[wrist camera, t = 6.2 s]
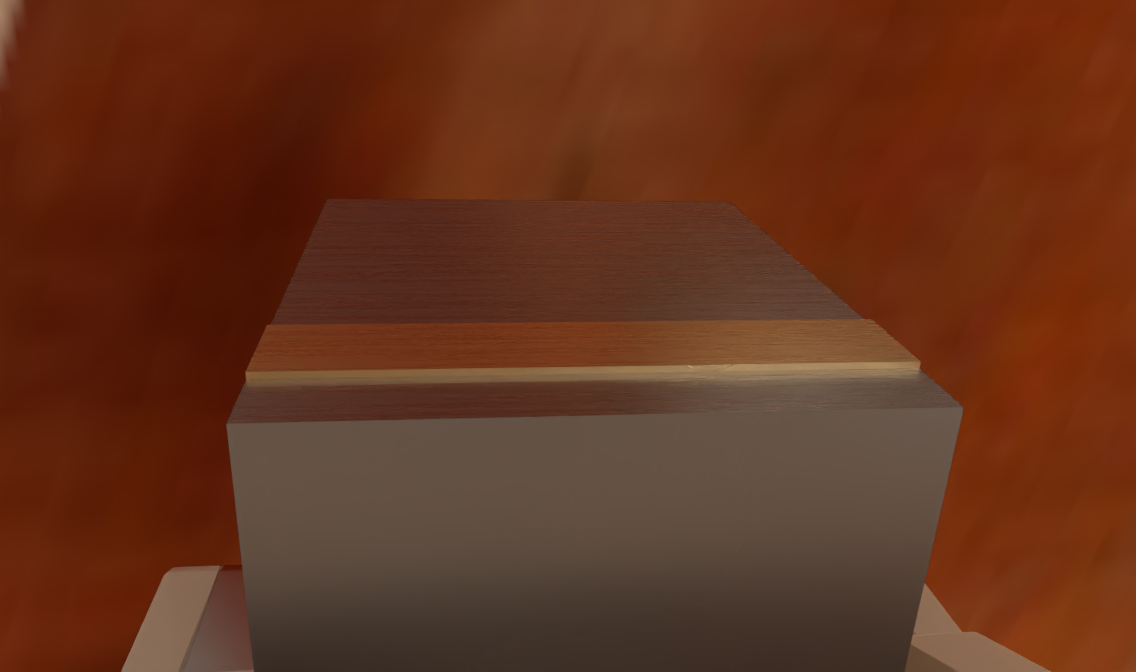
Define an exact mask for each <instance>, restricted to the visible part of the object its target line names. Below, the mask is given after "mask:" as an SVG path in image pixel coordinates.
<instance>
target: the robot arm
mask: <svg viewBox="0 0 1136 672" xmlns="http://www.w3.org/2000/svg"><path fill="white" fill-rule="evenodd" d="M121 672H254V668H253V659H252V650H251V641H250V632H249V623H248V614H247V605H246V596H245V587H244V578H243V569H242V565H225V566H224V567H222V566H219V565H218V566H193V567H173V568H172V569H171V570H169V571H168V572H167V573H166V574H165V575H164V576H163V579H162V581H161V583H160V585H159V588H158V590H157V592H156V594H155V597H154V599H153V601H152V603H151V606H150V608H149V610H148V612H147V615H146V617H145V619H144V621H143V624H142V626H141V628H140V630H139V633H138V635H137V637H136V639H135V642H134V644H133V646H132V648H131V651H130V653H129V655H128V657H127V660H126V662H125V664H124V666H123V669H122V671H121ZM905 672H1051V671H1049V670H1047V669H1045V668H1043V667H1042V666H1040V665H1038V664H1036V663H1034V662H1032V661H1030V660H1028V659H1027V658H1025V657H1023V656H1021V655H1019V654H1017V653H1015V652H1013V651H1012V650H1010V649H1008V648H1006V647H1004V646H1002V645H1000V644H998V643H996V642H995V641H993V640H991V639H989V638H987V637H985V636H983V635H981V634H980V633H978V632H962V631H961V630H960V628H959V627H958V626H957V624H956V623H955V622H954V621H953V619H952V618H951V617H950V615H949V614H948V613H947V611H946V610H945V609H944V608H943V606H942V605H941V604H940V602H939V601H938V600H937V598H936V597H935V596H934V594H933V593H932V592H931V591H930V589H929V588H928V587H927V585H926V584H925V583H924V587H923V592H922V596H921V601H920V605H919V610H918V614H917V618H916V623H915V627H914V632H913V636H912V641H911V645H910V650H909V654H908V659H907V663H906V667H905Z"/></svg>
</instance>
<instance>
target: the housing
mask: <svg viewBox="0 0 1136 672" xmlns="http://www.w3.org/2000/svg"><path fill="white" fill-rule="evenodd" d="M920 363H921V361H920V360H918V359H917V358H916V357H915V356H914V355H913V354H912V353H910V352H909V351H908V350H907V349H906V348H905V347H903V346H902V345H901V344H900V343H899V342H898V341H896V340H895V339H894V338H893V337H892V336H891V335H890V334H888V333H887V332H886V331H885V330H884V329H883V328H881V327H880V326H879V325H878V324H877V323H876V322H874V321H873V320H872V319H863V318H862V317H861V316H860V315H859V314H857V313H856V312H855V311H854V310H853V309H852V308H851V307H849V306H848V305H847V304H846V303H845V302H844V301H843V300H841V299H840V298H839V297H838V296H837V295H836V294H835V293H833V292H832V291H831V290H830V289H829V288H828V287H827V286H826V285H824V284H823V283H822V282H821V281H820V280H819V279H818V278H816V277H815V276H814V275H813V274H812V273H811V272H810V271H808V270H807V269H806V268H805V267H804V266H803V265H802V264H800V263H799V262H798V261H797V260H796V259H795V258H794V257H793V256H791V255H790V254H789V253H788V252H787V251H786V250H785V249H783V248H782V247H781V246H780V245H779V244H778V243H777V242H775V241H774V240H773V239H772V238H771V237H770V236H769V235H768V234H766V233H765V232H764V231H763V230H762V229H761V228H760V227H758V226H757V225H756V224H755V223H754V222H753V221H752V220H750V219H749V218H748V217H747V216H746V215H745V214H744V213H742V212H741V211H740V210H739V209H738V208H737V207H736V206H735V205H733V204H732V203H731V202H679V201H557V200H435V199H327V200H326V202H325V205H324V207H323V209H322V211H321V214H320V216H319V218H318V220H317V222H316V225H315V227H314V229H313V231H312V234H311V236H310V238H309V240H308V243H307V245H306V247H305V249H304V251H303V254H302V256H301V258H300V260H299V263H298V265H297V267H296V269H295V272H294V274H293V276H292V278H291V280H290V283H289V285H288V287H287V289H286V292H285V294H284V296H283V298H282V301H281V303H280V305H279V307H278V309H277V312H276V314H275V316H274V318H273V321H272V323H271V325H267V326H266V328H265V331H264V333H263V335H262V337H261V339H260V341H259V344H258V346H257V348H256V350H255V352H254V355H253V357H252V359H251V361H250V363H249V366H248V368H247V370H246V381H245V383H244V385H243V388H242V390H241V392H240V394H239V397H238V399H237V401H236V403H235V405H234V408H233V410H232V412H231V414H230V417H229V419H228V421H227V423H226V425H227V434H228V443H229V452H230V461H231V470H232V479H233V488H234V497H235V506H236V515H237V524H238V533H239V542H240V551H241V560H242V569H243V578H244V587H245V596H246V605H247V614H248V623H249V632H250V641H251V650H252V659H253V668H254V672H905V667H906V663H907V659H908V654H909V650H910V645H911V641H912V636H913V632H914V627H915V623H916V618H917V614H918V610H919V605H920V601H921V596H922V592H923V587H924V583H925V578H926V574H927V570H928V565H929V561H930V556H931V552H932V547H933V543H934V538H935V534H936V529H937V525H938V521H939V516H940V512H941V507H942V503H943V498H944V494H945V489H946V485H947V481H948V476H949V472H950V467H951V463H952V458H953V454H954V449H955V445H956V441H957V436H958V432H959V427H960V423H961V418H962V414H963V409H964V407H963V406H962V405H961V404H960V403H959V402H957V401H956V400H955V399H954V398H953V397H952V396H951V395H950V394H948V393H947V392H946V391H945V390H944V389H943V388H942V387H940V386H939V385H938V384H937V383H936V382H935V381H934V380H932V379H931V378H930V377H929V376H928V375H927V374H926V373H924V372H923V371H922V370H921V369H920Z"/></svg>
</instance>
